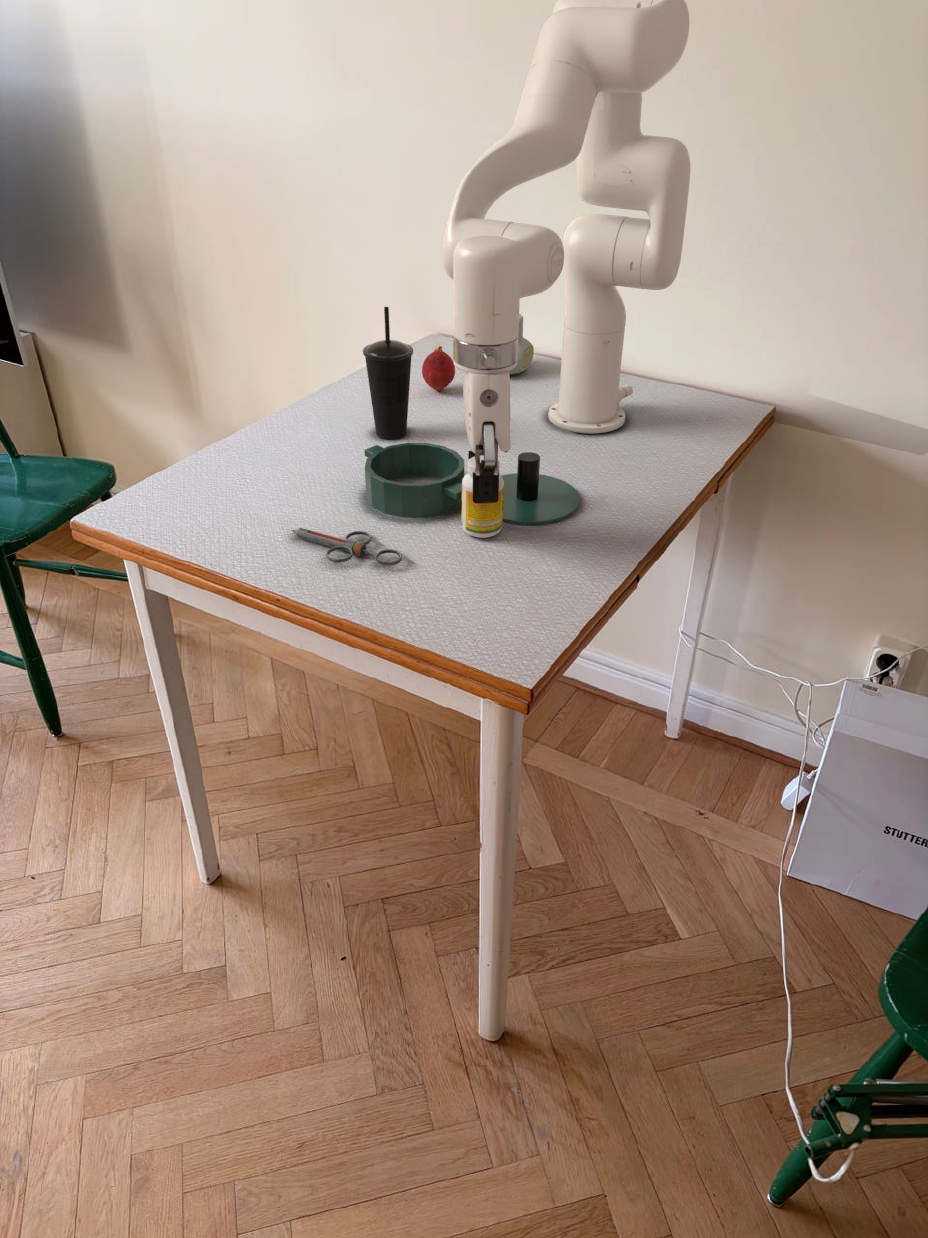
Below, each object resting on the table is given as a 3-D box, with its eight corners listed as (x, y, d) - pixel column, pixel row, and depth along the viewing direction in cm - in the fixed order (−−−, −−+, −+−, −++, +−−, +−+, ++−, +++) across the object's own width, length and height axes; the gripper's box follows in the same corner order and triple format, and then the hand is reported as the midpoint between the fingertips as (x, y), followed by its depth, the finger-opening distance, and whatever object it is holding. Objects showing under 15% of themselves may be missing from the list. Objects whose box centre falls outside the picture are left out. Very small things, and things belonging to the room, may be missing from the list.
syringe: (299, 520, 127) (298, 509, 126) (415, 552, 120) (415, 540, 119) (264, 546, 121) (262, 534, 120) (384, 581, 114) (383, 569, 114)
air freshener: (495, 357, 180) (496, 304, 174) (536, 363, 177) (539, 310, 171) (473, 376, 171) (473, 321, 166) (515, 383, 169) (517, 327, 163)
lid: (523, 470, 140) (525, 425, 136) (600, 503, 131) (605, 457, 127) (452, 502, 131) (452, 455, 127) (530, 540, 123) (533, 491, 119)
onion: (454, 397, 163) (454, 351, 158) (421, 397, 163) (420, 351, 159) (455, 385, 168) (455, 340, 163) (423, 384, 168) (422, 340, 163)
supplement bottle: (454, 523, 124) (454, 457, 119) (490, 515, 126) (492, 449, 121) (472, 542, 120) (473, 474, 115) (509, 533, 122) (512, 466, 117)
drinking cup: (418, 424, 153) (415, 300, 142) (411, 444, 147) (408, 316, 136) (372, 422, 154) (365, 298, 142) (363, 442, 148) (355, 314, 136)
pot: (406, 461, 142) (405, 429, 139) (497, 504, 131) (499, 470, 128) (335, 490, 134) (332, 456, 131) (426, 538, 123) (425, 502, 120)
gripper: (527, 376, 103) (520, 522, 113) (508, 326, 117) (504, 460, 127) (459, 378, 102) (458, 524, 113) (448, 328, 116) (449, 462, 127)
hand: (483, 489), depth 120 cm, fingers closed on supplement bottle, 5 cm apart
